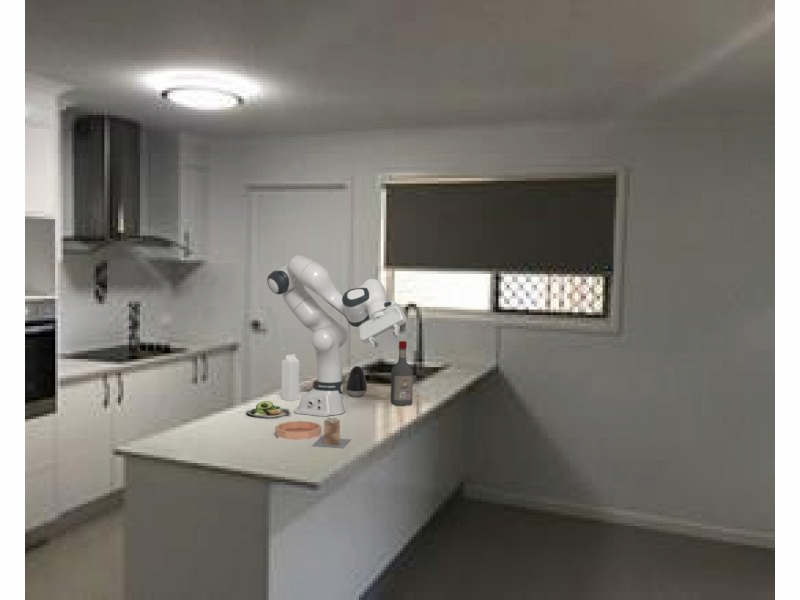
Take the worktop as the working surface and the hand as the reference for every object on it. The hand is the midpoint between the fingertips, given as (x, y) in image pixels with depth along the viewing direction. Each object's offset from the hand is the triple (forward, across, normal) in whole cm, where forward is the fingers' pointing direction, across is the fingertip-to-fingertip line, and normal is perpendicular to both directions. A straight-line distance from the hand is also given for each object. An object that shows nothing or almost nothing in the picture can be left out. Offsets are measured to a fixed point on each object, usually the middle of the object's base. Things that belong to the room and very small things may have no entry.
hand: (386, 341), depth 256 cm
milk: (-22, -74, +37) cm, 86 cm away
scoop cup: (+32, -29, -4) cm, 43 cm away
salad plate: (-4, -70, +14) cm, 72 cm away
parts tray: (+33, -30, -3) cm, 44 cm away
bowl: (+22, -45, -2) cm, 50 cm away
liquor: (-8, -28, +62) cm, 68 cm away
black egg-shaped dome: (-23, -51, +62) cm, 83 cm away
